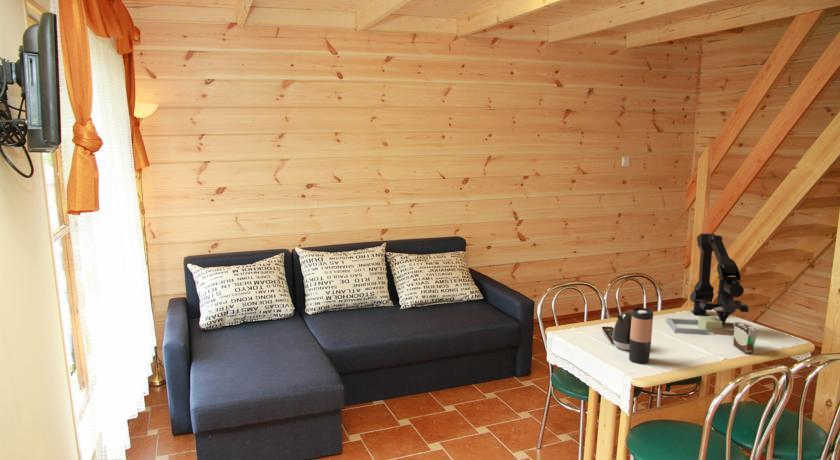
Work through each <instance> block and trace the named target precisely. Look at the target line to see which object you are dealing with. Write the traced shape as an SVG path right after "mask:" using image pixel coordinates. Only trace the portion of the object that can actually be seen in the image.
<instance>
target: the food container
mask: <svg viewBox="0 0 840 460" xmlns="http://www.w3.org/2000/svg"><path fill="white" fill-rule="evenodd" d="M733 323H734V328H733V330H734V335H733V340H732V341H733V343H732V347H734V348H736V349H737V350H738V351H740V352H741V353H743V354H744V355H751V354H753V353H754V348H755V343H756V338H757V336H759V329H758V328H757V326H755V325H753V324H750V323H746V322H742V321H734V322H733Z"/></svg>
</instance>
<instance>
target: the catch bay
mask: <svg viewBox="0 0 840 460" xmlns="http://www.w3.org/2000/svg"><path fill="white" fill-rule="evenodd" d="M665 323H666V324H667V325H668V326H669V327H670V329H671V330H672V331H673V332H674V333H675V334H689V335H690V334H691V335H703V336H704V335H707V336H708V335H709V333H708V330H707V329H700V328H696V327H695V328H693V327H691V328H690V327H678V326H677V324H678V325H679V324H680V325H692V326H693V325H694V326H698V325H699V319H695V318H694V319H691V318H676V317H675V318H674V317H666V319H665Z"/></svg>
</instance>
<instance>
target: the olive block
mask: <svg viewBox="0 0 840 460" xmlns="http://www.w3.org/2000/svg"><path fill="white" fill-rule="evenodd" d="M697 326H698V327H697V328H698V329H707V330H708V334H709V333H712V332H713V329H723V327H722V321H720V320H719V318H718V317H716V316H699V317H698V325H697ZM712 334H713V333H712Z"/></svg>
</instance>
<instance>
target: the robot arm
mask: <svg viewBox="0 0 840 460" xmlns="http://www.w3.org/2000/svg"><path fill="white" fill-rule="evenodd" d="M696 242H697V247H698V248H699V250H700V256H699V257H700V259H699V272H698V273H699V274H698V281H697V282H696V284H695V285H694V287H693V291H692V293H690V294H689V300H690V301H691V302H692V303H693V309H692V310H691V309H690V312H691V313H692V314H693V315H694V316H702V317H710V315H709V313H708V312H707V311H712V310H713V311H715V312H716V314H717V318H718V319H719V320H720V321H722V325H724V323H725V322H727V320H728V318H729V316H730V315H732V314H734V313H736V310H739V311H740V312H741V313H749V310H750V308H749V306H748V305H747V304H746V303H744V302H742V301H741V300H734V298H739V297H741V296H742V295H744V292H745V291H744V290H745V289H744V287H743V285H741V282H740V281H742V279H741V277H742V275H741V273H740V269H739V267H738V265H737V263H736V261H735V260H734V259H732V258H731V257H730V256H729V254H728V252H727V249H726V247H725V244H724V242H723V237H722V236H721V235H718V234H717V235H716V234H715V233H706V232H705V233H702V232H701V233H699V235H697V236H696ZM713 253H714V256H715V259H716V261H717V265H716V271H717V274H718V277H717V279H718V289H717V292H716V293H717V299H716V300H715V303H713V299H714V296H715V293H714V287H713V286H712V284H711V269H712V257H713V256H712V255H713Z"/></svg>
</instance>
